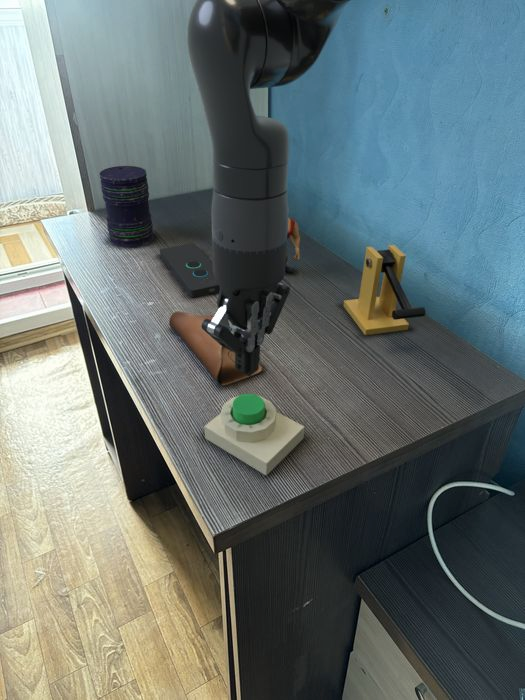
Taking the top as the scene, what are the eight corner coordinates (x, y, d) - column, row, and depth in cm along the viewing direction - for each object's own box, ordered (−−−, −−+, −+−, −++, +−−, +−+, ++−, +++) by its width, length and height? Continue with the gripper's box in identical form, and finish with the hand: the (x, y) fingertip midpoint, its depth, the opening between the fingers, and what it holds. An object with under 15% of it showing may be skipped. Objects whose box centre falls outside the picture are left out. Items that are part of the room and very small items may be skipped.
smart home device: (189, 290, 95) (157, 248, 110) (190, 298, 96) (158, 256, 111) (231, 281, 98) (194, 242, 113) (231, 289, 99) (195, 249, 114)
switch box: (303, 438, 67) (305, 415, 65) (266, 476, 62) (267, 452, 60) (244, 406, 72) (244, 384, 70) (204, 438, 67) (203, 415, 65)
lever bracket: (408, 329, 89) (423, 262, 82) (365, 335, 87) (376, 266, 80) (383, 301, 97) (394, 237, 90) (343, 306, 95) (351, 240, 88)
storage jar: (158, 244, 116) (151, 177, 107) (113, 250, 112) (102, 181, 104) (148, 228, 123) (141, 163, 114) (106, 233, 120) (95, 168, 111)
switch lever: (422, 319, 81) (428, 310, 79) (393, 323, 80) (398, 314, 78) (392, 258, 88) (397, 248, 86) (365, 261, 87) (369, 251, 85)
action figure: (265, 282, 102) (267, 208, 93) (255, 275, 105) (257, 202, 96) (304, 271, 106) (309, 200, 98) (294, 264, 109) (298, 194, 100)
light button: (270, 412, 66) (271, 402, 65) (251, 430, 63) (251, 419, 62) (246, 399, 68) (246, 389, 67) (226, 415, 65) (226, 405, 64)
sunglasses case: (267, 368, 78) (248, 343, 74) (233, 399, 78) (211, 376, 73) (213, 314, 91) (193, 290, 86) (183, 341, 90) (161, 318, 86)
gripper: (235, 266, 45) (235, 413, 55) (317, 223, 54) (304, 357, 64) (174, 243, 49) (185, 385, 59) (260, 206, 57) (256, 335, 68)
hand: (247, 370), depth 61 cm, fingers closed
